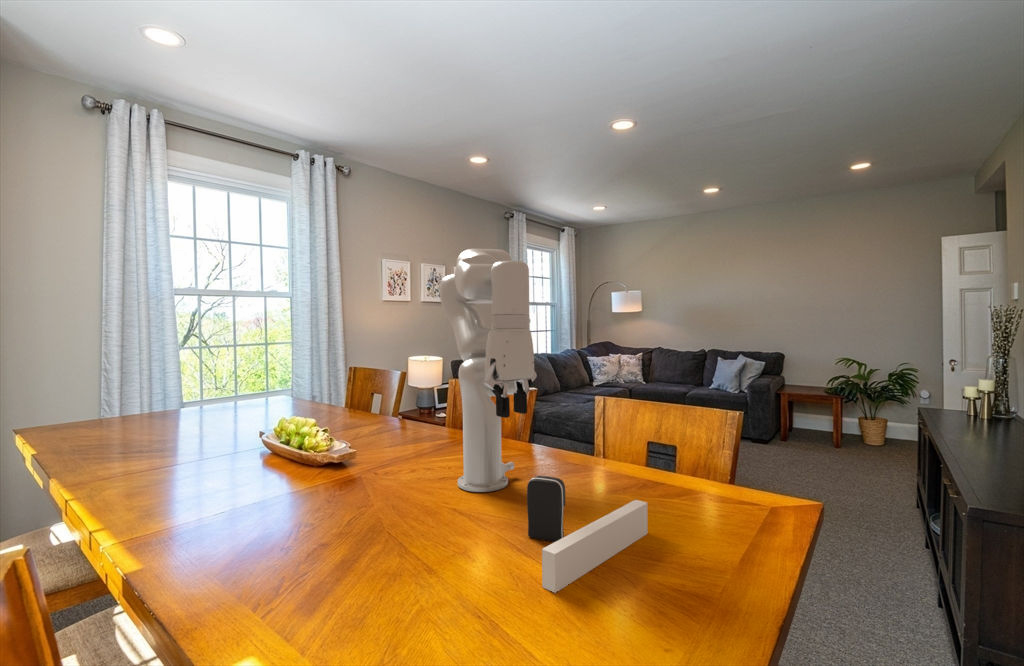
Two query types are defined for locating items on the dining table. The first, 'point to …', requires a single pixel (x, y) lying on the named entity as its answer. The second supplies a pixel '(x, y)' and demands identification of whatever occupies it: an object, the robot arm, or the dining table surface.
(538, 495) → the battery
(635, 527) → the board
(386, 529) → the dining table surface
